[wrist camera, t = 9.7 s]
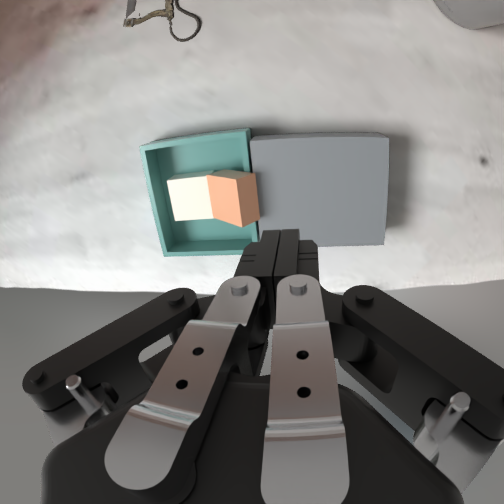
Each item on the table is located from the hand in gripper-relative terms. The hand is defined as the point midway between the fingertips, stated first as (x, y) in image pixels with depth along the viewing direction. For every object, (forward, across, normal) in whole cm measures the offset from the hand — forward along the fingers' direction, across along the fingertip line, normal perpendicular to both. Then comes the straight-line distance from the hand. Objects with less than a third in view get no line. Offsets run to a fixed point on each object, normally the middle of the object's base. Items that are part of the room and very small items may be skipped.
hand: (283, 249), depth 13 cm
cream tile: (+19, +12, +4) cm, 23 cm away
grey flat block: (+23, -2, +4) cm, 23 cm away
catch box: (+22, +11, +4) cm, 25 cm away
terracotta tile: (+20, +6, +4) cm, 21 cm away
